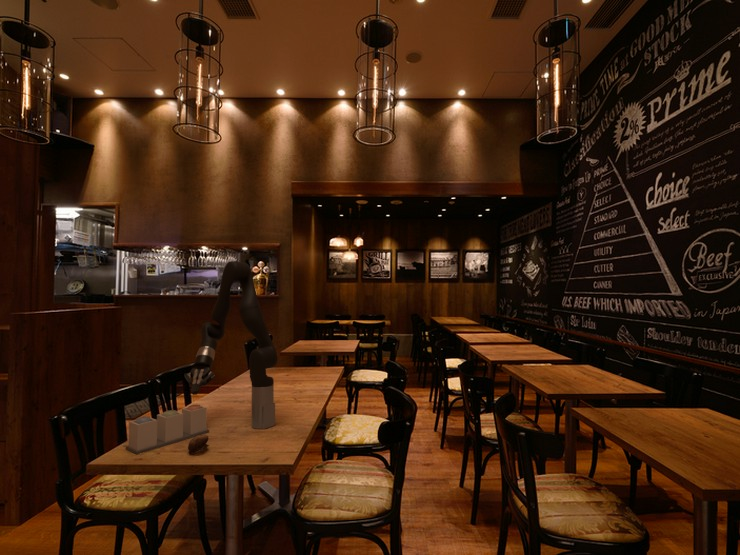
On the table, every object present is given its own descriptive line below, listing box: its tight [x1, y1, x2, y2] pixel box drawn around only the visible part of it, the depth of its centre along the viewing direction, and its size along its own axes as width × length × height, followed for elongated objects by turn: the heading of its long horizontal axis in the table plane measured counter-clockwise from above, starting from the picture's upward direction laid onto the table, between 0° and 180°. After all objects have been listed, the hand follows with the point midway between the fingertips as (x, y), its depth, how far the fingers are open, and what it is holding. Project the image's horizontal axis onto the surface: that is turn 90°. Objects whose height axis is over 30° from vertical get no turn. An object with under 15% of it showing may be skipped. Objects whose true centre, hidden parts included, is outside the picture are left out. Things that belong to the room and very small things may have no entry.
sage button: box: [162, 409, 178, 417], centre depth 154 cm, size 5×5×3 cm
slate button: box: [135, 415, 151, 424], centre depth 146 cm, size 5×5×3 cm
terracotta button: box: [187, 404, 201, 411], centre depth 163 cm, size 5×5×3 cm
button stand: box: [125, 405, 210, 455], centre depth 154 cm, size 9×28×10 cm, turn 144°
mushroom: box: [187, 434, 210, 455], centre depth 143 cm, size 8×8×6 cm
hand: (194, 393), depth 162 cm, fingers closed
